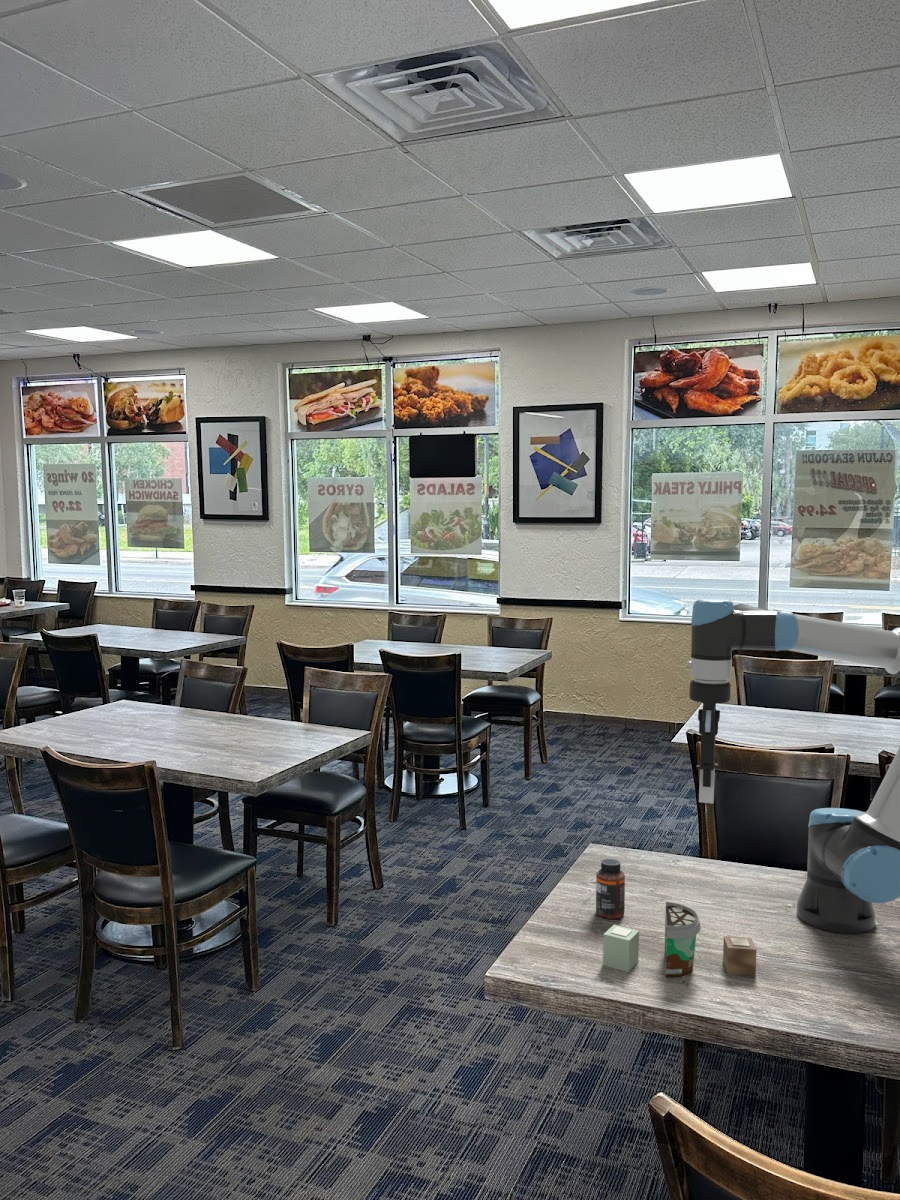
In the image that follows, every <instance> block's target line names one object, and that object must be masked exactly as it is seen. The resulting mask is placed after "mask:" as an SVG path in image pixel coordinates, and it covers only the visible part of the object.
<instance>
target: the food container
mask: <svg viewBox="0 0 900 1200" xmlns="http://www.w3.org/2000/svg"><path fill="white" fill-rule="evenodd" d="M664 917H665V919H664V921H665V924H664V927H665V928H664V968H665V970H664V971H665V978H666V979H667V978H670V979H676V978H678V979H679V978H683V977H687V976H689V975H690V974H691V973H693V971H694V969H693V968H694V958H695V950H696V943H697V942H696V941H697V935H698V934H699V933H700V931H701V930H702V927H701V922H700V921H701V920H700V917H699V915H698V914H697V912H696V911H695V910H694V909H692V908H690V907H688V906H687V905H684V904H681V903H677V902H672V901H671V902H670V901H666V902H665V916H664Z"/></svg>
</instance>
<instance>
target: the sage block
mask: <svg viewBox="0 0 900 1200" xmlns="http://www.w3.org/2000/svg"><path fill="white" fill-rule="evenodd" d="M602 941H603V943H602V944H603V948H602V966H605V967H608V968H612V969H616V970H619V971H622V972H626V973H629V972H630V971H631V970H632V969H633V968H634V967H635V966H636V965H637V964H638V963H639V954H640V953H639V952H640V951H639V949H640V948H639V947H640V930H637V929H633V928H629V927H625V926H621V925H617V924H613V925H612V926H610V928H609V929H608V930H606V931H605V932H604V933H603V940H602Z"/></svg>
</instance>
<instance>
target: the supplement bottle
mask: <svg viewBox="0 0 900 1200" xmlns="http://www.w3.org/2000/svg"><path fill="white" fill-rule="evenodd" d="M595 882H596V883H595V885H596V886H595V889H596V892H595V913H596V914H597V916H599V917H600V918H603V919H608V920H615V919H616V920H617V919H620V918H622V917H623V916H624V915H625V907H626V903H625V902H626V901H625V899H626V898H625V897H626V895H625V893H626V892H625V891H626V890H625V889H626V877H625V873H624V872H623V870H621V862H620V860H618V859H616V858H615V859H614V858H605V859H602V860H601V862H600V869H598V870H597V872H596V881H595Z"/></svg>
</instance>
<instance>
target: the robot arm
mask: <svg viewBox="0 0 900 1200" xmlns="http://www.w3.org/2000/svg"><path fill="white" fill-rule="evenodd" d="M691 613H692V616H691V621H690V625H691V639H690V641H691V644H690V647H691V648H690V650H691V651H690V661H687V663H686V666H687V667H689V668H690V674H689V676H690V678H691V679H692V680H690V682H689V699H690V700H691V701H692V702H696V703H702V708H699V709H698V711H697V713H698V714H697V720H698V734H700V761H699V762H700V763H699V765H698V764H696V770H699V783H698V785H699V789H698V803H704V804H714V803H715V802H714V801H715V778H716V777H715V775H716V774H715V773H716V770H715V769H716V768H717V769H718V768H719V763H716V762H715V761H716V755H715V753H716V752H715V751H716V736H717V735H718V732H719V722H720V718H721V710H720V709H717V704H720V705H721V704H726V703H729V701H731V686H732V685H731V683H730V682H729V681H730V680H731V679H732V666H733V665H732V664H733V663H732V662H733V659H732V657H733V656H732V655H733V654H732V653H733V650H737V651H741V650H750V651H775V652H779V651H790V652H796V653H802V654H807V655H813V656H817V657H818V656H819V657H825V658H829V659H835V660H840V661H846V662H850V663H851V662H852V663H857V664H862V665H866V666H868V665H869V666H874V667H879V668H884V669H885V672H887V673H888V674H891V675H894V676H896V675H897V676H900V627H895V628H893V629H892V630H888V629H887V630H885V629H881V628H876V627H870V626H865V625H859V624H852V623H848V622H843V621H842V622H841V621H838V620H837V621H836V620H831V619H830V620H829V619H824V618H819V617H814V616H808V615H801V614H796V613H794V612H793V611H792V612H791V611H788V610H786V611H784V610H780V609H777V610H775V609H774V610H773V609H772V610H771V609H767V608H762V607H757V606H751V605H749V604H744V603H738V604H736V603H735V604H734V602H733V601H732V600H730V599H722V598H721V599H720V598H719V599H718V598H717V599H716V598H702V599H698V600H696V601H694V603H693V605H692V612H691ZM807 827H808V834H807V835H808V838H807V839H808V841H807V843H808V844H807V845H808V846H807V866H806V867H807V869H806V870H807V871H806V879H805V883H804V884H803V887H802V889H801V892H800V894H799V897H798V899H797V903H796V916H797V917H798V919H800V920H801V921H802V922H804V923H805V924H808V925H810V926H811V927H814V928H817V929H821V930H824V931H828V932H834V933H838V934H839V933H840V934H862V933H866V932H869V931H872V930H873V929H874V928H875V926H876V925H875V924H876V912H875V908H874V906H873V904H886V903H889V902H894V901H896V900H898V899H899V898H900V746H899V747H898V750H897V751H896V754H895V755H894V757H893V759H892V762H891V763H890V765H889V767H888V769H887V771H886V773H885V775H884V778H883V779H882V782H881V783H880V785H879V787H878V789H877V791H876V793H875V795H874V797H873V800H872V801H871V803H870V805H869V807H868V809H867V810H866V811H861V810H857V809H852V808H851V809H850V808H842V807H841V808H839V807H823V808H822V807H821V808H816V809H814V810H812V811H811V812H810V814H809V821H808V825H807Z"/></svg>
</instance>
